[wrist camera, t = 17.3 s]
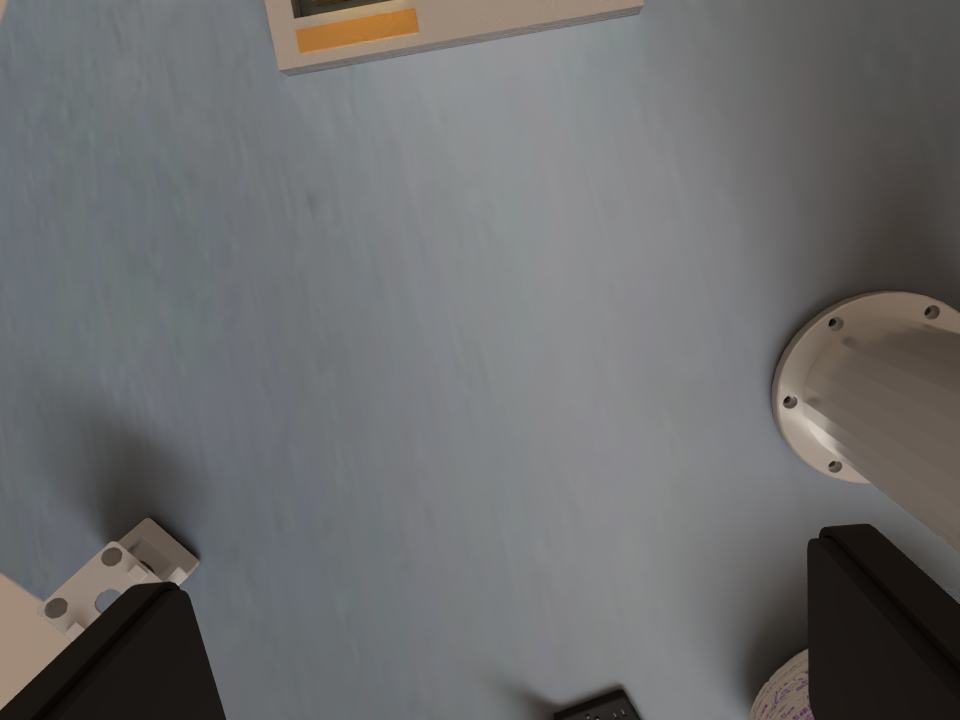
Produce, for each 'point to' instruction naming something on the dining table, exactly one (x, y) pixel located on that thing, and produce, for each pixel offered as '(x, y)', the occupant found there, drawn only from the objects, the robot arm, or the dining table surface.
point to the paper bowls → (785, 693)
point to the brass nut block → (326, 2)
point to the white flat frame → (417, 27)
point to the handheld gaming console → (601, 709)
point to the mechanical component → (117, 575)
